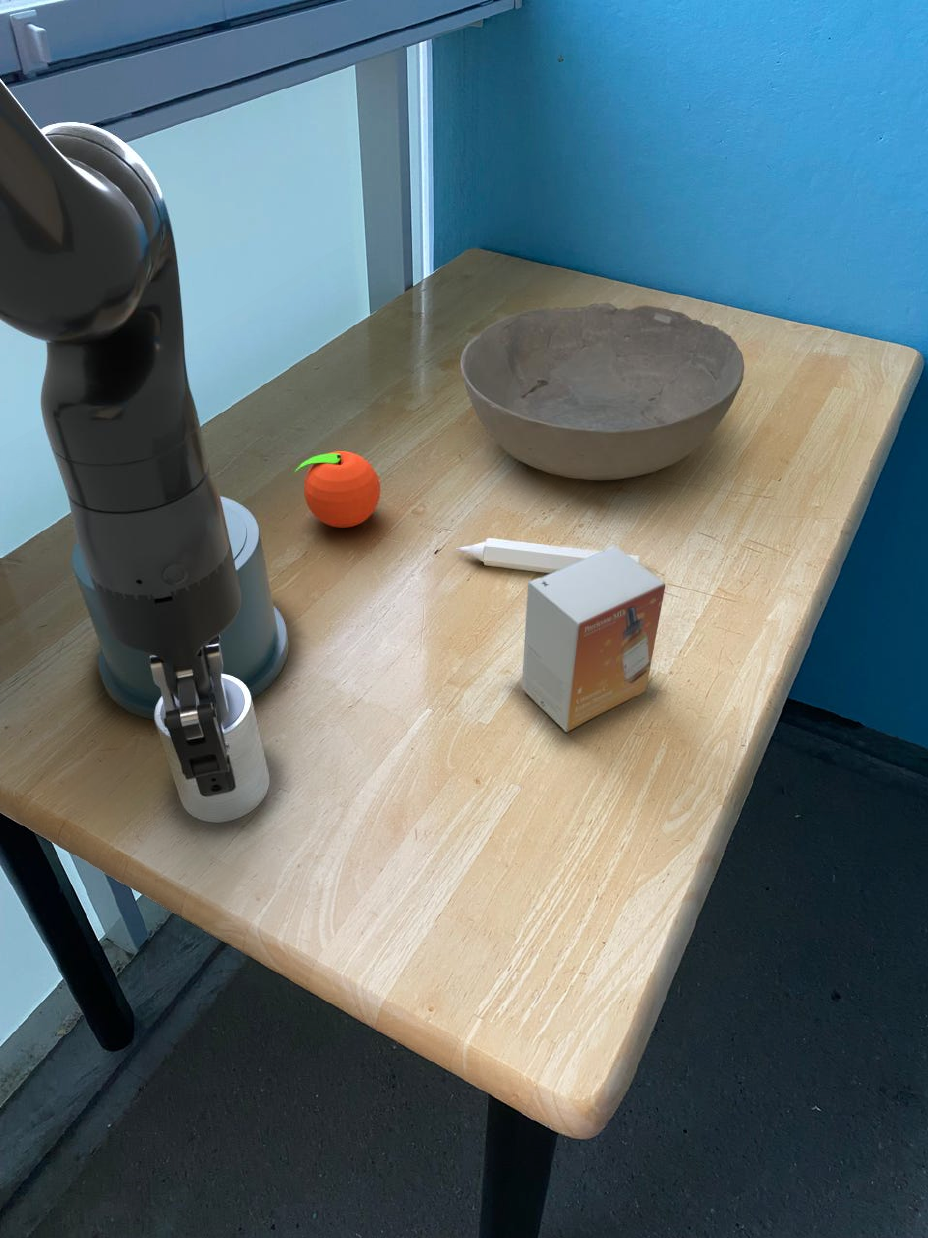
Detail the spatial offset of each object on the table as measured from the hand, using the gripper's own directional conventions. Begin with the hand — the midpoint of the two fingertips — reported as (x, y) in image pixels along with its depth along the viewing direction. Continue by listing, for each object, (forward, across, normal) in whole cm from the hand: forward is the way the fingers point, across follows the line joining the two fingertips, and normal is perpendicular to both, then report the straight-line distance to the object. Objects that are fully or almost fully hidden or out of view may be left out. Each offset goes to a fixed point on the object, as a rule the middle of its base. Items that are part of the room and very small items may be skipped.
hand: (214, 751), depth 61 cm
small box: (+4, -2, +27) cm, 27 cm away
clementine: (+4, -29, +13) cm, 32 cm away
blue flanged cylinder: (+4, -14, -1) cm, 15 cm away
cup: (+4, 0, 0) cm, 4 cm away
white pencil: (+4, -17, +29) cm, 34 cm away
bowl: (+4, -36, +41) cm, 55 cm away
